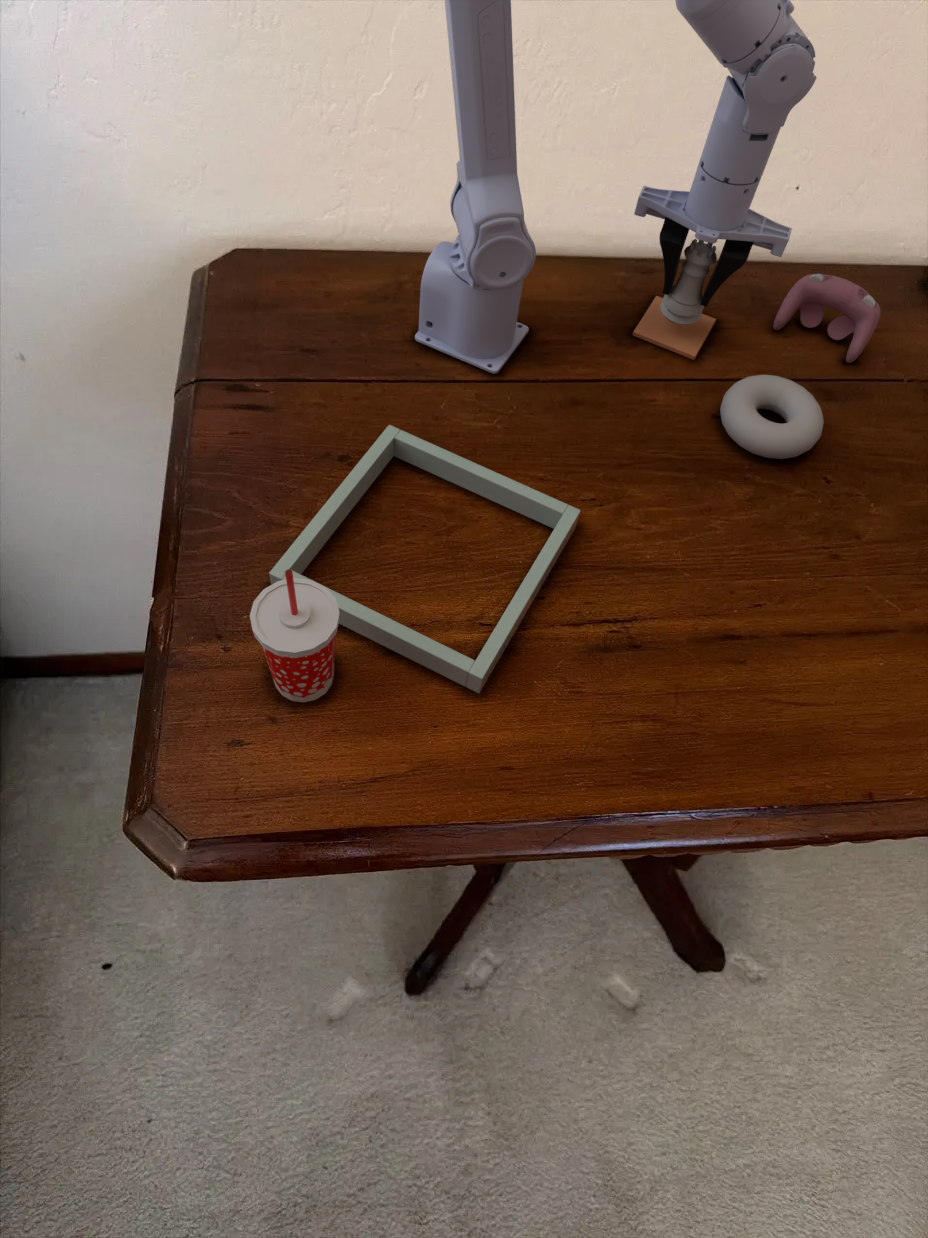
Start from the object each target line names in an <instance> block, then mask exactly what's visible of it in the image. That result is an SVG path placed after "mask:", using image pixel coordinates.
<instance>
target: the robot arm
mask: <svg viewBox="0 0 928 1238" xmlns="http://www.w3.org/2000/svg"><path fill="white" fill-rule="evenodd" d="M674 2H675V7H676V10H677V11H678V13H680V15H681V16H682V17H683V18H684V20H685V21H686V23H688V24H689V26H690V27H691V28H692V29H693V30H694V32H695V33H696V35H697V36H698V37H699V38H700V39H701V41H702V42H703V43H704V45H705V46H706V47H707V48H708V50H709V51H710V52H711V53H712V55H713V56H714V57H715V59H716V60H717V62H718V63H719V64H720V65H722V67H723V68H725V69H727V71H728V72H729V74H730V75H727V76H726V78H725V80H724V84H723V87H722V90H721V93H720V96H719V99H718V103H717V106H716V108H715V110H714V111H715V112H714V115H713V117H712V121H711V125H710V128H709V131H708V134H707V136H706V140H705V143H704V146H703V149H702V152H701V156H700V158H699V161H698V164H697V167H696V171H695V173H694V177H693V180H692V184H691V185H690V189H689V191H687V190H686V191H685V190H674V189H663V188H656V187H651V186H646V185H643V186H642V188H641V189H640V190H641V191H640V193H639V195H638V198H637V201H636V206H635V209H634V213H633V215H634V216H638V217H641V218H645V217H646V216H647V215H648V216H652V217H656V218H659V219H662V220H663V224H662V226H661V230H660V232H659V245H660V249H661V253H662V258H663V268H664V271H663V272H664V279H663V280H664V281H663V288H662V294H663V295H665V294H666V295H669V293H670V291H671V288H672V286H674V282H675V279H676V276H677V274H678V269H679V265H680V260H681V257H682V252H683V251H684V250H683V249H684V247H685V244H686V241H687V237H688V235H689V232H690V231H692V232H694V233H695V234H694V237H695V239H696V240H697V241H699V240H701V241H704V243H713V244H716V243H717V242H718V240H725V241H724V244H723V247H722V248H721V252H720V255H719V258H718V260H717V263H716V265H715V267H714V269H713V271H712V273H711V276H710V277H709V280H708V281H707V284H706V287H705V289H704V292H703V298H702V301H701V304H700V305H703V306H704V307H708V305H709V304H710V301H711V299H712V298H713V297H714V295H715V294H716V292H717V291H718V290H719V288H721V286H722V285H723V284H724V283H725V282H726V281H727V280H728V279H729V278H730V277H731V276H732V275H733V274H734V273H736V272H737V271H738V270H740V269H741V268H743V266H744V265H746V264H745V263H746V262H747V261H748V259H749V257H750V253H751V250H752V248H753V246H754V247H759V248H762V249H765V250H769V251H770V252H769V253H770V255H772V256H775V257H778V258H782V256H783V255H784V252H785V250H786V248H787V246H788V243H789V242H790V241H789V240H790V238H791V234H792V229H793V228H792V227H789V226H788V225H787V226H786V225H784V224H781V223H780V222H779V223H778V222H776V221H775V220H772V219H770V218H768V217H767V216H764V215H763V214H760V213H759V212H757V211H755V210H753V209H751V208H750V207H751V206H752V203H753V200H754V197H755V194H756V192H757V190H758V187H759V185H760V183H761V180H762V177H763V175H764V173H765V169H766V168H767V167H766V166H767V164H768V162H769V159H770V156H771V155H772V151H773V149H774V146H775V144H776V141H777V139H778V136H779V133H780V131H781V128H782V127H784V126H785V124H786V122H787V119H788V116H789V114H790V112H791V111H792V110H793V109H794V107H795V106H797V104H798V103H800V102H801V101H802V100H803V99H804V98H805V97H806V96H807V94H809V92H810V91H811V89H812V87H813V86H814V85H815V83H816V80H817V78H818V77H817V75H815V73H814V69H815V65H816V61H815V59H814V58H816V51H815V48H814V45H813V43H812V42H811V41H810V39H809V38H808V36H807V35H806V34H805V32H804V31H803V30H802V28H801V27H800V26H799V24H798V23H797V21H796V20H795V19H794V18H793V16H792V15H791V14H792V13H793V12H794V11H795V6H794V4H793V2H792V1H791V0H674ZM444 7H445V8H444V9H445V21H446V30H447V39H448V40H447V42H448V51H449V62H450V71H451V73H450V74H451V82H452V91H453V104H454V113H455V114H454V115H455V125H456V133H457V134H456V135H457V145H458V155H459V160H458V161H457V162H456V175H457V176H456V183H455V185H454V189H453V191H452V194H451V197H450V201H449V202H450V203H449V207H450V213H451V216H452V218H453V221H454V223H455V226H456V229H457V232H458V235H457V236H456V239H455V240H454V242H450V241H444V240H443V241H440V242H438V243H437V245H436V246H435V247H434V248H433V250H431V253H430V254H429V256H428V258H427V260H426V262H425V266H424V268H423V271H422V274H421V275H422V276H421V282H420V293H419V312H418V314H419V315H418V331H417V332H416V333H415V335H414V340H415V342H418V343H419V344H422V345H424V346H426V347H430V348H431V349H434V350H436V351H439V352H440V353H442V354H446V355H448V356H450V357H452V358H454V359H458V360H460V361H461V362H465V363H467V364H469V365H472V366H473V367H477V368H479V369H481V370H483V371H486V372H488V373H490V374H493V375H494V374H498V373H499V372H500V371H501V369H502V368H503V367H504V366H505V364H506V363H507V361H509V359H510V357H511V356H512V355H513V353H514V352H515V351H516V349H518V347H519V345H520V344H521V342H522V341H523V340H524V338H526V336H527V335H528V333H529V331H530V329H529V327H528V325H525V324H524V323H521V322H518V316H519V309H520V305H521V297H522V292H523V286H524V279H525V278H526V277H527V276H528V275H529V274H530V272H531V271H532V269H533V267H534V265H535V263H536V258H537V248H536V244H535V242H534V239H532V237H531V235H530V233H529V229H528V228H527V224H526V221H525V211H524V205H523V199H522V194H521V187H520V182H519V177H518V176H519V175H518V156H517V153H518V152H517V129H516V128H517V127H516V104H515V103H516V102H515V76H514V75H515V73H514V49H513V47H514V45H513V24H512V23H513V20H512V19H513V18H512V0H444Z"/></svg>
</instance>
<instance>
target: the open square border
mask: <svg viewBox="0 0 928 1238" xmlns="http://www.w3.org/2000/svg"><path fill="white" fill-rule="evenodd" d="M393 457H394V458H397V459H399V460H401V461H403V462H406V463H408V464H410V465H412V466H414V467H417V468H418V469H421V470H424V471H425V472H427V473H429V474H432V475H434V476H437V477H438V478H441V479H443V480H445V481H447V482H450V483H452V484H454V485H456V486H458V487H461V488H463V489H465V490H467V491H469V492H471V493H474V494H476V495H479V496H481V497H483V498H485V499H487V500H489V501H491V502H494V503H495V504H498V505H500V506H503V507H505V508H507V509H509V510H511V511H514V512H516V513H518V514H520V515H522V516H525V517H527V518H529V519H531V520H533V521H536V522H537V523H540V524H542V525H545V527H546V526H547V527H549V528H551V529H553V530H552V532H551V534H550V535H549V537H548V539H547V540H546V542H545V543H544V545H543V547H542V548H541V550H540V552H539V553H538V555H537V557H536V558H535V560H534V562H533V563H532V565H531V567H530V568H529V570H528V572H527V573H526V575H525V577H524V578H523V580H522V582H521V583H520V585H519V587H518V589H517V590H516V591H515V594H514V595H513V597H512V598H511V601H510V602H509V603H508V605H507V607H506V609H505V610H504V612H503V613H502V615H501V617H500V619H499V620H498V622H497V624H496V626H495V627H494V629H493V631H492V632H491V634H490V636H489V637H488V638H487V640H486V642H485V643H484V645H483V647H482V649H481V651H480V652H479V654H478V655H477V657H476V659H475V660H474V659H473V658H471V657H469V656H467V655H464V654H463V653H460V652H459V651H457V650H455V649H453V648H450V647H449V646H446V645H444V644H442V643H440V642H438V641H436V640H434V639H433V638H431V637H429V636H427V635H424V634H422V633H421V632H418V631H416V630H414V629H412V628H410V627H409V626H406V625H404V624H402V623H400V622H398V621H395V620H394V619H392V618H390V617H388V616H386V615H384V614H381V613H379V612H378V611H376V610H374V609H372V608H369V607H368V606H366V605H363V604H361V603H359V602H358V601H355V600H353V599H351V598H349V597H347V596H345V595H343V594H341V593H339V592H337V591H335V590H333V589H330V588H329V587H328V586H325V587H326V588H327V589H328V590H329V591H330V592H331V594H332V595H333V596H334V597H335V598H336V601H337V605H338V609H339V612H340V616H339V618H340V619H339V624H338V625H341V626H343V627H345V628H347V629H348V630H351V631H352V632H354V633H357V634H359V635H360V636H362V637H365V638H366V639H369V640H371V641H373V642H375V643H376V644H379V645H381V646H383V647H385V648H387V649H389V650H391V651H392V652H395V653H397V654H399V655H401V656H403V657H405V658H407V659H409V660H410V661H413V662H415V663H417V664H419V665H421V666H423V667H425V668H426V669H428V670H431V671H433V672H435V673H437V674H439V675H440V676H443V677H445V678H447V679H449V680H451V681H452V682H454V683H456V684H458V685H461V686H463V687H466V688H467V689H468V690H470V691H473V692H475V693H477V694H480V693H481V691H482V690H483V688H484V686H485V684H486V683H487V681H488V680H489V678H490V677H491V674H492V673H493V670H494V669H495V668H496V666H497V664H498V662H499V661H500V659H501V657H502V656H503V654H504V652H505V650H506V648H507V647H508V645H509V644H510V642H511V640H512V638H513V637H514V635H515V633H516V632H517V630H518V628H519V626H520V624H521V623H522V621H523V620H524V617H525V616H526V614H527V613H528V611H529V609H530V607H531V605H532V604H533V602H534V600H535V598H536V597H537V595H538V593H539V591H540V590H541V588H542V586H543V585H544V583H545V581H546V579H547V578H548V576H549V575H550V573H551V571H552V569H553V568H554V566H555V564H556V562H557V561H558V559H559V557H560V555H561V554H562V552H563V550H564V549H565V547H566V545H567V544H568V542H569V540H570V539H571V537H572V535H573V533H574V531H575V530H576V527H577V524H578V521H579V518H580V514H581V512H582V511H581V509H580V508H577V507H575V506H572V505H571V504H568V503H566V502H564V501H561V500H558V499H557V498H554V497H552V496H550V495H548V494H546V493H543V492H541V491H540V490H537V489H534V488H533V487H530V486H528V485H525V484H523V483H521V482H519V481H517V480H514V479H512V478H510V477H507V476H505V475H503V474H501V473H498V472H497V471H494V470H492V469H489V468H488V467H485V466H483V465H481V464H479V463H476V462H474V461H473V460H472V461H471V460H470V459H467V458H465V457H463V456H460V455H459V454H456V453H454V452H452V451H449V450H447V449H445V448H442V447H441V446H438V445H436V444H433V443H432V442H429V441H427V440H424V439H423V438H420V437H418V436H417V435H414V434H411V433H409V432H407V431H405V430H402V429H401V428H398V427H396V426H394V425H392V424H388V426H386V427H385V429H384V430H383V431H382V433H381V434H380V435H379V436H378V438H377V439H376V440H375V441H374V443H372V445H371V446H370V448H369V449H368V450H367V451H366V452H365V453H364V455H363V456H362V457H361V458H360V459H359V461H358V462H357V463H356V465H355V466H354V467H353V468H352V470H351V471H350V472H349V473H348V475H347V476H346V477H345V479H344V480H343V481H342V482H341V483H340V484H339V486H338V487H337V488H336V489H335V491H334V492H333V493H332V494H331V495H330V497H329V498H328V499H327V501H325V503H324V505H322V506H321V508H320V509H319V510H318V512H317V513H316V514H315V515H314V516H313V518H312V519H311V520H310V522H308V524H307V525H306V526H305V528H304V529H303V530H302V531H301V533H300V534H298V536H297V538H296V539H295V540H294V541H293V542H292V544H290V546H289V548H287V551H285V553H284V554H283V555H282V556H281V558H280V559H279V560H278V561H277V562H276V563H275V565H274V566H273V567H272V568H271V570H270V571H269V572H268V575H269V576H268V577H269V581H270V585H272V584H274V583H276V582H277V581H281V580H286V576H285V571H286V570H288V569H290V570H292V573H293V578H300V579H308V580H312V579H311V578H308V577H307V576H304V575H302V574H303V573H304V571H305V570H306V569H307V568H308V566H309V565H310V564H311V562H312V561H313V560H314V558H315V557H316V556H317V555H318V553H319V552H320V551H321V550H322V548H323V547H324V545H325V544H326V543H328V541H329V539H331V537H332V535H333V534H334V533H335V532H336V530H338V528H339V527H340V526H341V524H342V523H343V521H344V520H345V519H346V518H347V516H348V515H349V514H350V513H351V511H352V510H353V509H354V507H355V506H356V505H357V504H358V502H359V501H360V500H361V498H362V497H363V496H364V494H365V493H366V492H367V491H368V490H369V488H370V487H371V485H372V484H373V483H374V482H375V480H376V479H377V478H378V477H379V476H380V474H381V473H382V471H383V470H384V469H385V468H386V466H387V465H388V464H389V463H390V462H391V460H392V459H393Z"/></svg>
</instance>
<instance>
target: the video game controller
mask: <svg viewBox="0 0 928 1238" xmlns="http://www.w3.org/2000/svg"><path fill="white" fill-rule="evenodd" d="M824 306H826V307H828V308H831V309H833V310H835V311H837V312H839V313H841V315H839V316H837V317H834V318H833V320H831V321H830V322H829V324H828V326H827V329H826V330H827V335H828V336H829V337H830V338H831V339H832V340H835V341H840V340H843V339H845V338H846V337H848V336H849V335H851V334H852V333H853V336H852V339H851V342H850V344H849V346H848V348H847V349H848V350H847V353H846V356H845V362H846V363H847V364H851V363H853V362H855V361H856V360H857V359H858V358H859V356H860V355H861V354H862V352H863V351H864V349H865V348H866V346H867V345H868V343H869V342H870V340H871V338H872V336H873V334H874V332H875V330H876V328H877V325H878V323H879V321H880V319H881V313H882V311H881V307H880V305H879V303H878V302H877V301H876V299H874V297H873V296H871V294H870V293H869V292H868V291H867V290H865V289H864V288H863V287H862V286H860V285H858V284H856V283H855V282H853V281H851V280H849V279H846V278H843V277H840V276H836V275H830V274H824V273H819V272H817V273H812V274H811V273H810V274H807V275H804V276H802V277H801V278H800V279H798V280H797V281H796V282H795V283H794V284H793V285H792V287H791V288H790V290H789V291H788V293H787V294H786V296H785V297H784V299H783V301H782V303H781V304H780V307H779V309H778V311H777V313H776V315H775V318H774V319H773V325H772V326H773V330H774V331H776V332H777V331H780V330H781V329H782V328H784V327H785V326H786V325H787V324H788V322H789V321H790V320H791V319H792V318H793V317H794V315H795V314H796V313H797V311H798V310H799V313H800V319H799V320H800V323H801V325H802V326H804V327H806V328H815V327H817V326H819V325H820V324H821V323H822V321H823V319H824V316H825V315H824V314H825V311H824Z"/></svg>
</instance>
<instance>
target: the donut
mask: <svg viewBox="0 0 928 1238" xmlns="http://www.w3.org/2000/svg"><path fill="white" fill-rule="evenodd" d="M758 410H767V411H769V412H773V413H775V414H777V415H779V416H780V417H781V418H782V419H783V420H784V421H785V422H784V423H780V422H779V423H778V422H775V421H771V420H769V419H767V418H765V417H763V416H762V415H761V413H759V412H758ZM719 412H720V413H719V414H720V419H721V425H722V426H723V428H724V430H725V432H726V433H727V436H729V437H730V438H731V439H732V440H733V441H734V442H735V443H736V444H737V445H738V446H739V447H740V448H742V449H745V450H746V451H748V452H749V453H751V454H754V455H756V456H760V457H763V458H767V459H777V460H785V459H791V458H797V457H799V456H800V455H802V454H804V453H806V452H808V451H810V450H811V449H812V448H813V447H814V446H815V444H816V443H817V442H818V441H819V439H820V438H821V436H822V434H823V429H824V423H825V421H824V415H823V411H822V407H821V406H820V404H819V402H818V401H817V400H816V398H815V397H814V395H813V394H812V393H811V392H809V390H808V389H806V388H805V387H804V386H802V385H800V384H799V383H797V382H795V381H793V380H791V379H788V378H786V377H782V376H779V375H772V374H757V375H749V376H747V377H744V378H742V379H739V380H738V381H736V382H735V383H733V384H732V386H730V387H729V389H728V390H727V391H726V392H725V393H724V395H723V398H722V401H721V404H720V407H719Z"/></svg>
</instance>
